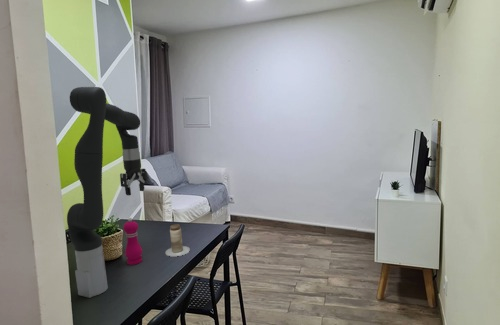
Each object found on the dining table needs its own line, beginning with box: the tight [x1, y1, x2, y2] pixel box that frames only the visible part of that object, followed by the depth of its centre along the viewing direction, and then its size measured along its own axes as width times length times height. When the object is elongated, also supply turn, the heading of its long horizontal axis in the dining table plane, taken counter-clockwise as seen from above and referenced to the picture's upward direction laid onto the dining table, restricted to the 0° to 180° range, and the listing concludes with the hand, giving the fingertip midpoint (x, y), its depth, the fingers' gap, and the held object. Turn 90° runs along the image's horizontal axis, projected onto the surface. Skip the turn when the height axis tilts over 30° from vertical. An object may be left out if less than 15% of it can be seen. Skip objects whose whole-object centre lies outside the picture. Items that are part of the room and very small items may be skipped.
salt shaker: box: [169, 223, 184, 253], centre depth 162 cm, size 5×5×12 cm
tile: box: [165, 245, 191, 258], centre depth 163 cm, size 11×11×1 cm
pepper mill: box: [123, 217, 143, 266], centre depth 153 cm, size 7×7×20 cm
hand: (135, 193), depth 163 cm, fingers open, 8 cm apart
